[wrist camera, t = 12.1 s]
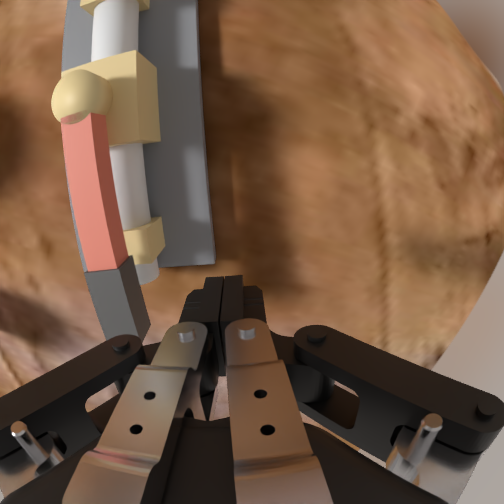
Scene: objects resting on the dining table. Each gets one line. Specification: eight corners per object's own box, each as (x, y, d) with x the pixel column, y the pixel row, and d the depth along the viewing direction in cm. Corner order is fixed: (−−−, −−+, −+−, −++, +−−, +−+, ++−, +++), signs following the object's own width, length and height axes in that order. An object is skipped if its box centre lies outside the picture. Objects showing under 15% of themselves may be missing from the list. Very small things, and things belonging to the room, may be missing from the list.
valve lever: (68, 85, 15) (48, 79, 12) (112, 70, 15) (95, 61, 12) (115, 326, 20) (103, 345, 18) (156, 324, 20) (147, 344, 18)
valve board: (74, 5, 18) (36, -22, 11) (197, -27, 18) (184, -71, 11) (91, 266, 26) (52, 300, 19) (216, 257, 26) (206, 295, 19)
